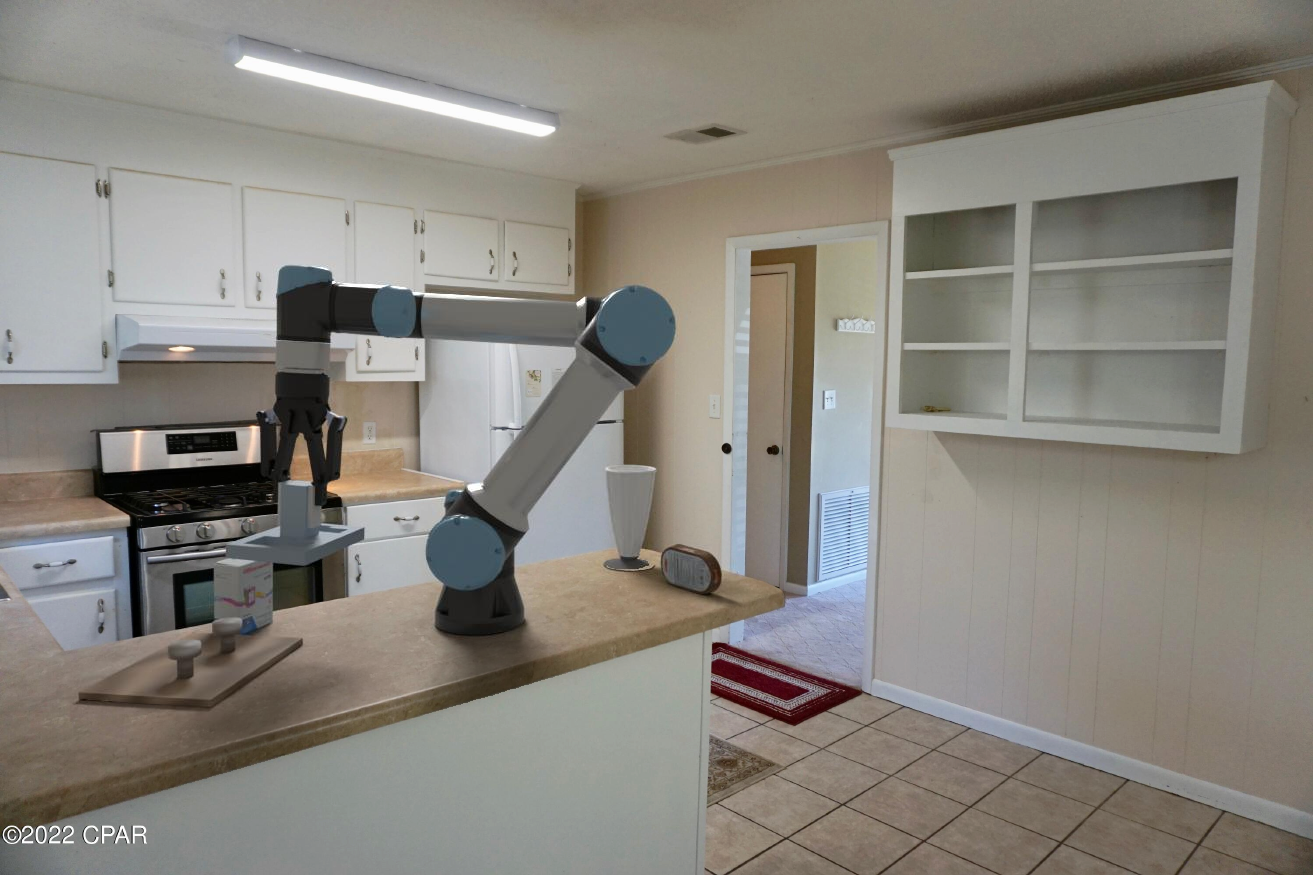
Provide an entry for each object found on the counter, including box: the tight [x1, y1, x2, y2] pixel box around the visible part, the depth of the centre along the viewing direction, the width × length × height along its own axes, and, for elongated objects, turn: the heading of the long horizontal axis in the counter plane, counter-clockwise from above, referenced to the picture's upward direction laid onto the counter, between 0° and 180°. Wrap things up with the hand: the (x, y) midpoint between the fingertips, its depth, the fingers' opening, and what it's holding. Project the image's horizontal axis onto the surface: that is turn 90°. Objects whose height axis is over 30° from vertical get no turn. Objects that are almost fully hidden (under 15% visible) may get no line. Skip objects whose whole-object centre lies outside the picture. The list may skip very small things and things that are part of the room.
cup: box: [603, 464, 658, 569], centre depth 186 cm, size 12×12×22 cm
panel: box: [225, 479, 366, 567], centre depth 128 cm, size 12×18×10 cm, turn 173°
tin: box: [660, 543, 723, 595], centre depth 168 cm, size 15×3×8 cm, turn 43°
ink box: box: [213, 558, 274, 635], centre depth 139 cm, size 9×5×12 cm, turn 168°
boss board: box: [78, 617, 304, 708], centre depth 121 cm, size 18×24×6 cm
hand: (299, 524), depth 128 cm, fingers closed on panel, 4 cm apart
